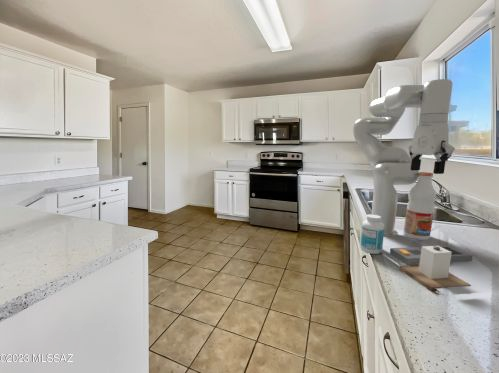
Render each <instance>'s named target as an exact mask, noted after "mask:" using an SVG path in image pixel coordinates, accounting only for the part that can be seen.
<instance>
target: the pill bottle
mask: <svg viewBox="0 0 499 373" xmlns="http://www.w3.org/2000/svg"><path fill="white" fill-rule="evenodd" d="M380 221H381V216H378V215H371V214H367V215H366V219H365V220H364V221H362V224H361V233H360V234H361V235H360V246H359V248H360V250H361V251H363V252H364V253H367V254H370V255H379V254H381V253H382V252H383V247H384V246H383V245H384V237H385V236H384V224H383V223H381V222H380Z"/></svg>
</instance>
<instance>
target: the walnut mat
mask: <svg viewBox="0 0 499 373" xmlns="http://www.w3.org/2000/svg"><path fill="white" fill-rule="evenodd" d="M399 270H401V271H402V272H403V273H404V272H405V275H408V277H410V278H411V279H413V280H414V281H416V282H417V283H418V284H420V285H421V286H423V287H424V288H425V287H426V289H427V290H428V291H430V292H439V290H438V289H439V288H440V289H441V288H452V287H469V286H471V284H470V283H468V282H467V281H465V280H464V279H462V278H459V277H458V276H457V275H455V274H453V273H451V272H449V273H448V278H436V279H430V278H429V277H427V276H425V275H424V274H422V273H421V272H419V271H418V270H419V264H405V265H399Z"/></svg>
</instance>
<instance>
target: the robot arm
mask: <svg viewBox="0 0 499 373" xmlns="http://www.w3.org/2000/svg"><path fill="white" fill-rule="evenodd" d="M452 91H453V81H452V80H450V79H448V78H441V79H440V78H439V79H438V78H437V79H433V80H429V81H427V82H425V83H424V84H403V85H399V86H396V87H393V88H391V89H389V90H388V91H387V92H386V93H385V95H384V96H381V97H378V98H376V99H374V100H373V101H372V102H371V103H370V104H369V107H368V110H369V113H370V114H371V115H372V117H363V118H359V119H357V120H356V121H355V122H354V124H353V128H352V129H353V131H352V132H353V137H354V139H355V142H356V143H357V144H358V145H359V147H360V149H361V150H362V151H363V153H364V155H365V156H366V159H367V161H368V162H369V164H370V165H371V166H372V167H374V168H373V170H372V178H373V193H372V194H373V195H372V205H371V214H370V215H378V216H381V221H380V222H381V223H383V224H384V237H393V236H398V235H399V232H398V231H397V230H396V229H395V225H396V218H397V207H398V198H399V195H398V192H397V189H396V188H395V187H394V186H396V185H398V186H399V185H401V186H402V185H405V186H407V185H413V184H416V183H417V181H418V179H419V176H418V174H419V172H420V170H421V165H422V159H421V157H423V156H425V155H426V156H432V155H433V156H434V158H435V159H436V160H435V161H434V166H433V171H432V173H433V175H434V174H435V175H442V174H443V175H444V174H445V167H446V162H448V160H449V159H450V158H451V157H452V155H453V153H454V151H455V148H456V147H454V146H453V145H451V144H449V124H448V118H449V113H450V112H449V111H450V103H451V98H452V93H453V92H452ZM406 108H408V109H409V108H412V109H413V108H415V109H416V108H420V111H419V118H418V121H419V122H418V124H417V125H416V128H415V131H414V133H413V138H412V141H411V142H412V144H411V145H409V146H408V147H407V148H408V151H409V153H408V152H407V151H406V150H405V149H404V148H402V147H397V146H385V145H384V144H383V142H382V141H381V140H380V139H379V138H377V137H376V136H387V135H389V134H390V133H391V132H392V131H393V130H394V128H395V126H396V125H397V123H399V121H400V119H401V118H402V117H403V115H404V113H405V111H406Z"/></svg>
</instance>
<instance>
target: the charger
mask: <svg viewBox="0 0 499 373" xmlns="http://www.w3.org/2000/svg"><path fill="white" fill-rule="evenodd" d="M440 246H441V245H427V246H426V245H425V246H421V247H422V249H421V256H420V263H419V264H418V265H419V270H418V271H419V272H421V273H422V274H424V275H425V276H427V277H429V278H430V279H436V278H448V273H450V266H451V262H450V261H451V254H452V252H450V251H448V250H446V249H444V248H442V247H440Z"/></svg>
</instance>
